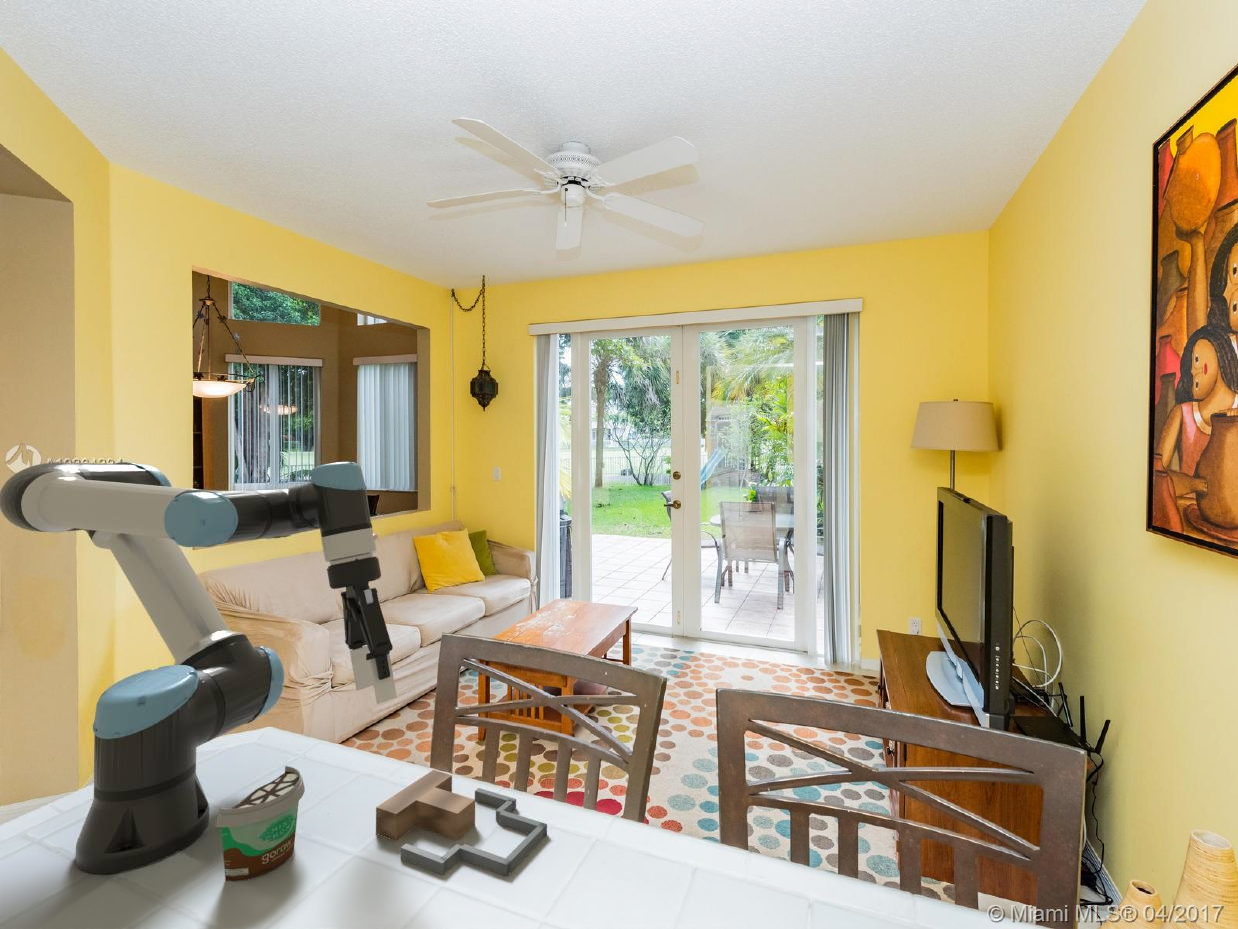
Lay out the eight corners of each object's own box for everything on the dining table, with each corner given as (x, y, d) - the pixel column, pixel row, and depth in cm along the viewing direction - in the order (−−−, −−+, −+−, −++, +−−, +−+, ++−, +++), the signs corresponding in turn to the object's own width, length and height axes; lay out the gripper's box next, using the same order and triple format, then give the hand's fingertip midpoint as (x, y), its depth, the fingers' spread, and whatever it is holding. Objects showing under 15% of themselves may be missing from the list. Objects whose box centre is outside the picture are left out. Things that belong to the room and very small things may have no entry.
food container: (256, 896, 74) (257, 817, 74) (215, 888, 75) (216, 811, 76) (323, 836, 86) (324, 768, 86) (287, 831, 88) (288, 764, 88)
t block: (375, 834, 87) (376, 807, 87) (433, 793, 98) (433, 769, 98) (438, 857, 82) (438, 829, 82) (491, 812, 93) (491, 787, 93)
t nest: (400, 858, 82) (400, 847, 82) (478, 797, 97) (478, 787, 97) (490, 893, 75) (490, 881, 75) (559, 821, 90) (559, 811, 90)
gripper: (397, 550, 85) (424, 696, 84) (359, 557, 105) (380, 675, 104) (342, 562, 80) (369, 717, 79) (313, 567, 100) (334, 690, 99)
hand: (375, 693), depth 91 cm, fingers open, 13 cm apart
